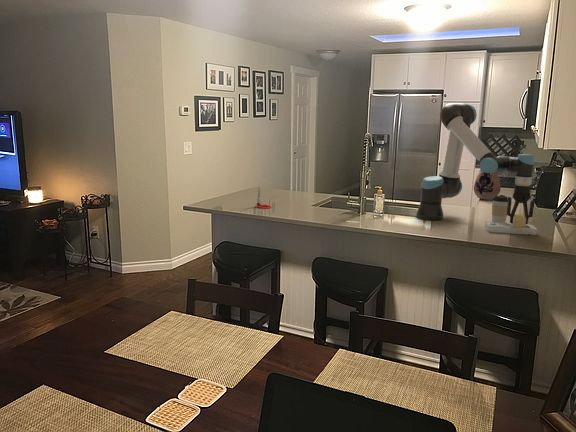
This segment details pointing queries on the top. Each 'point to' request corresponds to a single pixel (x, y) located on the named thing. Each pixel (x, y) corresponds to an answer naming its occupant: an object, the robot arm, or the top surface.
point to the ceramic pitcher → (487, 185)
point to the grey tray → (510, 228)
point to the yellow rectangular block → (519, 220)
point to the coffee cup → (499, 209)
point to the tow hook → (260, 204)
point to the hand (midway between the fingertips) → (517, 229)
